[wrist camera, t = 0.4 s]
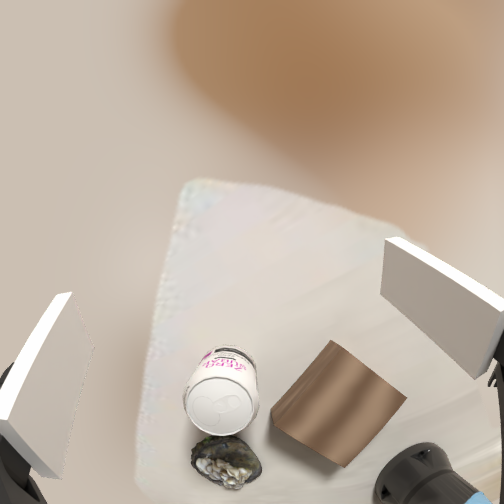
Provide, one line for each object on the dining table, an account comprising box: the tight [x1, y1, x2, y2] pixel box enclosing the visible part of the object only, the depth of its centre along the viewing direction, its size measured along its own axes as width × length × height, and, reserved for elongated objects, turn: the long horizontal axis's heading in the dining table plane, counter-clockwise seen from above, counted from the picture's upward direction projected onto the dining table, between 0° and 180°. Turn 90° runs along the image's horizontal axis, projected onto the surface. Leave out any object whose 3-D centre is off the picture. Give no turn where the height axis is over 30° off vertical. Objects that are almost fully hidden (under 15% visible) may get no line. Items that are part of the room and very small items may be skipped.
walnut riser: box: [271, 340, 407, 468], centre depth 40 cm, size 14×14×6 cm
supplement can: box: [183, 344, 260, 436], centre depth 36 cm, size 8×8×15 cm
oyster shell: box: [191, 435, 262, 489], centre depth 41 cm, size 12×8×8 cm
